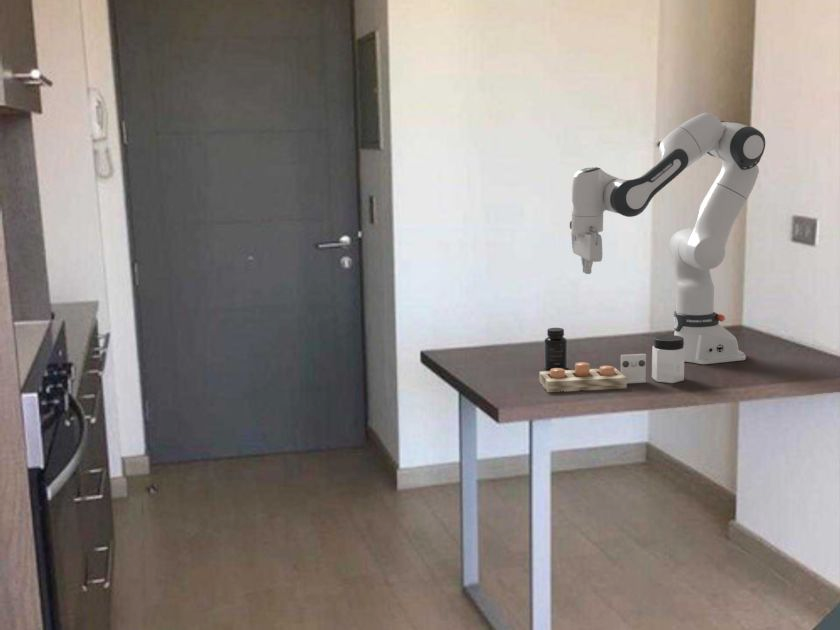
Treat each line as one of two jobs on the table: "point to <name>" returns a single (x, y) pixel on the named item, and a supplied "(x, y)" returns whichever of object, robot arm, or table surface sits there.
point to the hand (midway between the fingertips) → (587, 273)
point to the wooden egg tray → (582, 381)
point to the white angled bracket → (634, 367)
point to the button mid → (582, 369)
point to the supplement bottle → (555, 349)
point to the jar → (668, 358)
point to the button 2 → (606, 370)
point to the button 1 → (557, 373)
